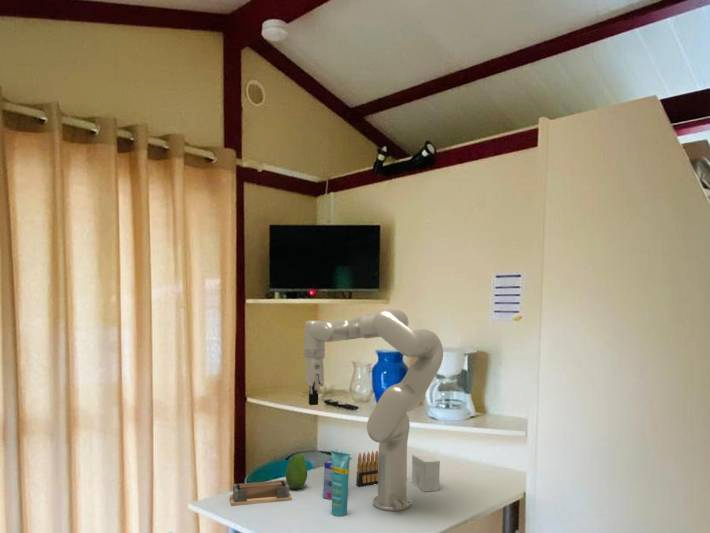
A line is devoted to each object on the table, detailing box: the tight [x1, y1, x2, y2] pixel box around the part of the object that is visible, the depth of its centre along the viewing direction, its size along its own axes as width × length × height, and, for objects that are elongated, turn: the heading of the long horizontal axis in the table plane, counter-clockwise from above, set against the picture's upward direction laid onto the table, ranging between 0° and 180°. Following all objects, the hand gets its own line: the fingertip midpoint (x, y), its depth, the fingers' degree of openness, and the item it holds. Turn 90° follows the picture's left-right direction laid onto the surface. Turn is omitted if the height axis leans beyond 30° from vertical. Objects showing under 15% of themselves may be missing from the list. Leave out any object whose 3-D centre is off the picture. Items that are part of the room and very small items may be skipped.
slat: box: [238, 480, 282, 499], centre depth 183 cm, size 4×14×4 cm, turn 107°
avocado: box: [285, 453, 308, 490], centre depth 194 cm, size 8×8×12 cm
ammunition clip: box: [355, 450, 379, 488], centre depth 199 cm, size 11×2×12 cm, turn 116°
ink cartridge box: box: [322, 451, 343, 500], centre depth 188 cm, size 10×6×14 cm, turn 160°
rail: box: [229, 479, 293, 507], centre depth 183 cm, size 7×20×4 cm, turn 107°
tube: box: [330, 450, 351, 517], centre depth 173 cm, size 7×5×19 cm, turn 62°
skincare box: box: [411, 453, 441, 493], centre depth 198 cm, size 10×6×10 cm, turn 20°
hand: (313, 404), depth 198 cm, fingers closed
